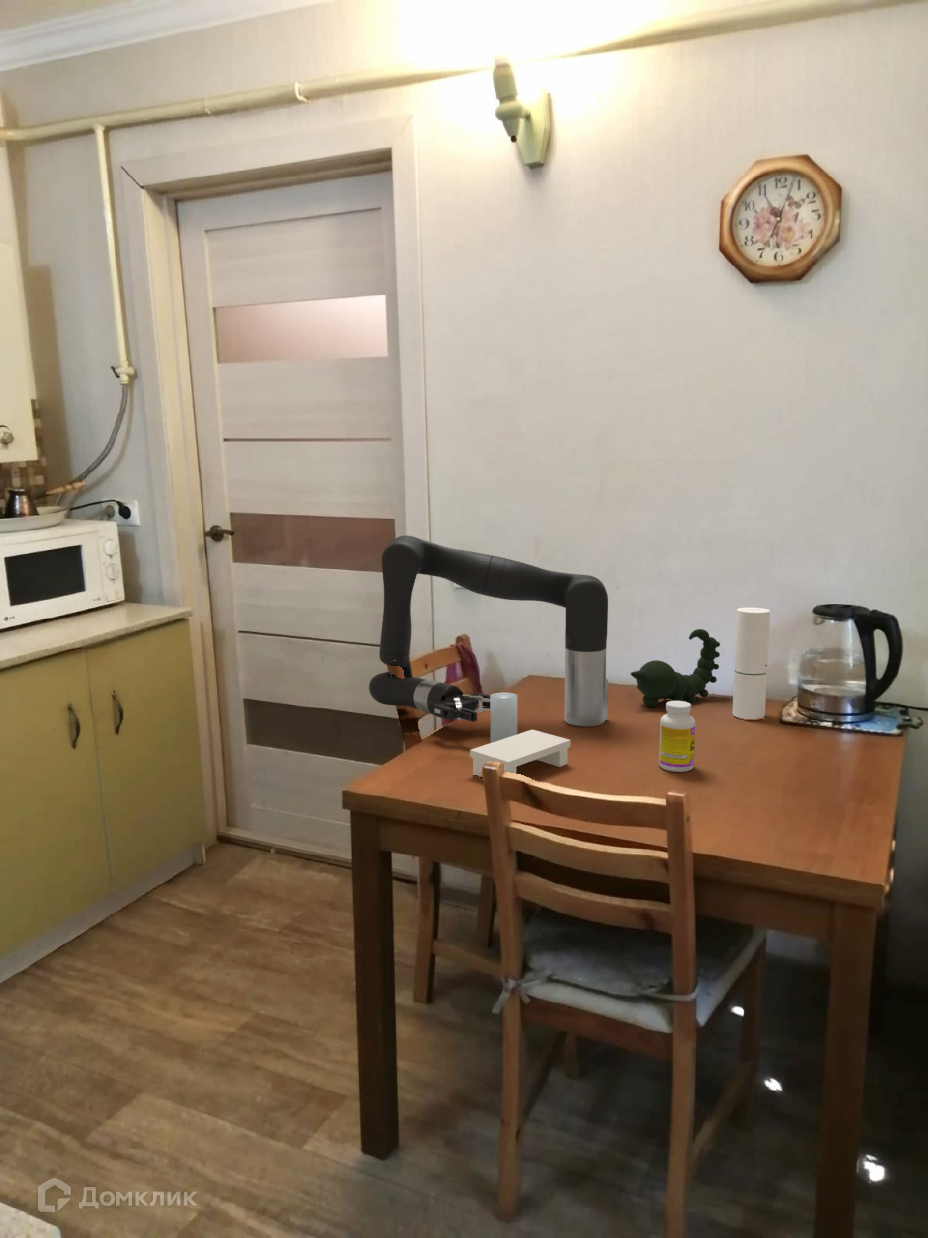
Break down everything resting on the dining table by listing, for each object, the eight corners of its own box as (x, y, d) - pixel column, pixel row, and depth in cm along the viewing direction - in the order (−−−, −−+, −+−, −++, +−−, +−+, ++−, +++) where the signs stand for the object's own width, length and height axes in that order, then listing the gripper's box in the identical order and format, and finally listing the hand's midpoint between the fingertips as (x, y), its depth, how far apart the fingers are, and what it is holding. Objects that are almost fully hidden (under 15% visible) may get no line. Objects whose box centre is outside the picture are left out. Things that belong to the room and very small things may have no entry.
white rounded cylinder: (503, 740, 198) (503, 691, 196) (522, 746, 194) (522, 695, 192) (485, 746, 194) (484, 696, 192) (504, 752, 190) (504, 701, 188)
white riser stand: (532, 752, 190) (532, 729, 189) (570, 764, 183) (570, 740, 182) (470, 774, 177) (470, 750, 176) (508, 788, 170) (508, 762, 169)
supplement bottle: (694, 774, 176) (696, 709, 174) (659, 772, 178) (661, 707, 175) (693, 762, 183) (695, 700, 181) (658, 760, 184) (660, 698, 182)
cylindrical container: (768, 715, 215) (773, 609, 210) (759, 722, 209) (765, 614, 204) (737, 710, 218) (742, 606, 214) (728, 718, 212) (733, 611, 208)
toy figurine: (696, 699, 235) (615, 702, 224) (705, 625, 232) (623, 625, 221) (722, 708, 226) (639, 712, 215) (730, 632, 224) (647, 632, 213)
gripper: (414, 688, 201) (466, 702, 190) (460, 676, 211) (513, 689, 200) (414, 721, 203) (466, 737, 191) (461, 708, 212) (513, 722, 201)
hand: (490, 712), depth 195 cm, fingers open, 8 cm apart
